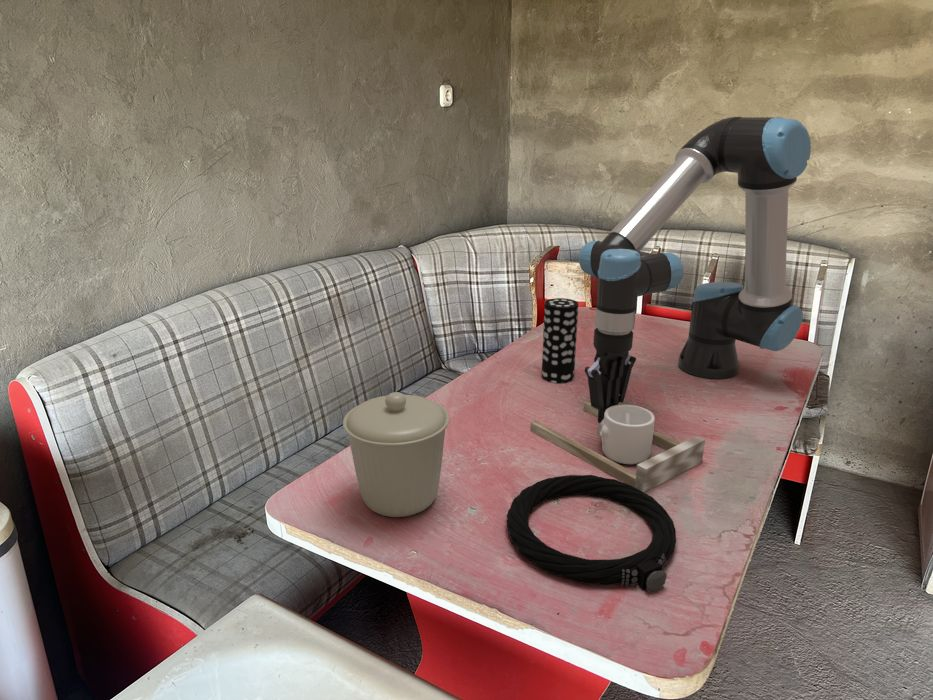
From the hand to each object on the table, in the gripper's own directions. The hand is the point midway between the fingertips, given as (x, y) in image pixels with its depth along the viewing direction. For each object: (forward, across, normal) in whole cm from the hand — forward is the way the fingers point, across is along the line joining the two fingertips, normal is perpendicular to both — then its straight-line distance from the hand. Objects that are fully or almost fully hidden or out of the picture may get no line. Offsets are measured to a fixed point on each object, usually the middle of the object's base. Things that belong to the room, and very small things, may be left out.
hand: (604, 435), depth 137 cm
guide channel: (+1, 0, +2) cm, 2 cm away
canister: (+2, +46, -8) cm, 46 cm away
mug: (+2, 0, +5) cm, 6 cm away
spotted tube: (+2, -16, -31) cm, 35 cm away
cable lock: (+2, +25, +20) cm, 33 cm away
